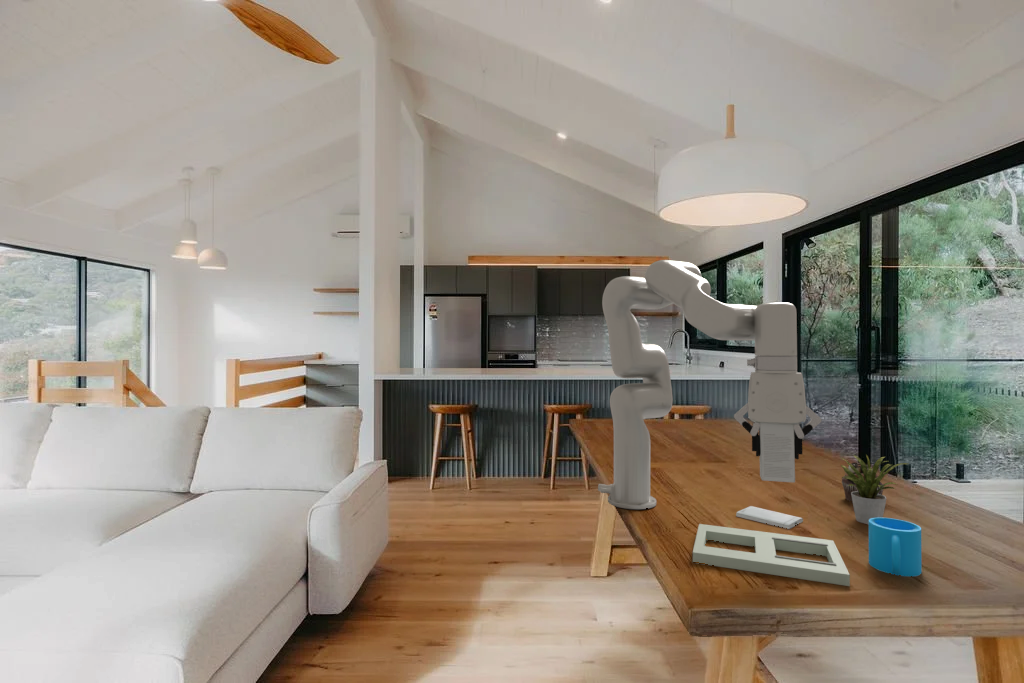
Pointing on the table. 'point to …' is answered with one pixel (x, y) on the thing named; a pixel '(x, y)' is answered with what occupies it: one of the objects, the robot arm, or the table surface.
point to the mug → (895, 546)
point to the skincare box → (777, 452)
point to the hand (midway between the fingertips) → (776, 455)
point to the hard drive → (769, 517)
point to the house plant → (868, 490)
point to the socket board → (771, 554)
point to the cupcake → (850, 489)
